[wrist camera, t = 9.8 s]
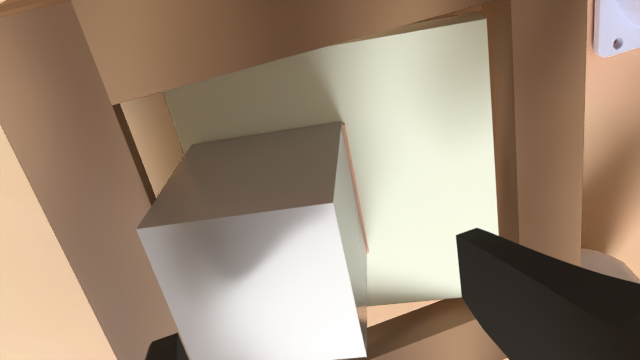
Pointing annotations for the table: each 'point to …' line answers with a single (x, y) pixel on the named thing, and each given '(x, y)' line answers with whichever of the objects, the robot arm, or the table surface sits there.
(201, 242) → the pale grey cube
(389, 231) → the trapdoor
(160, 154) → the table surface
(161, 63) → the trapdoor frame
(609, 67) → the table surface
